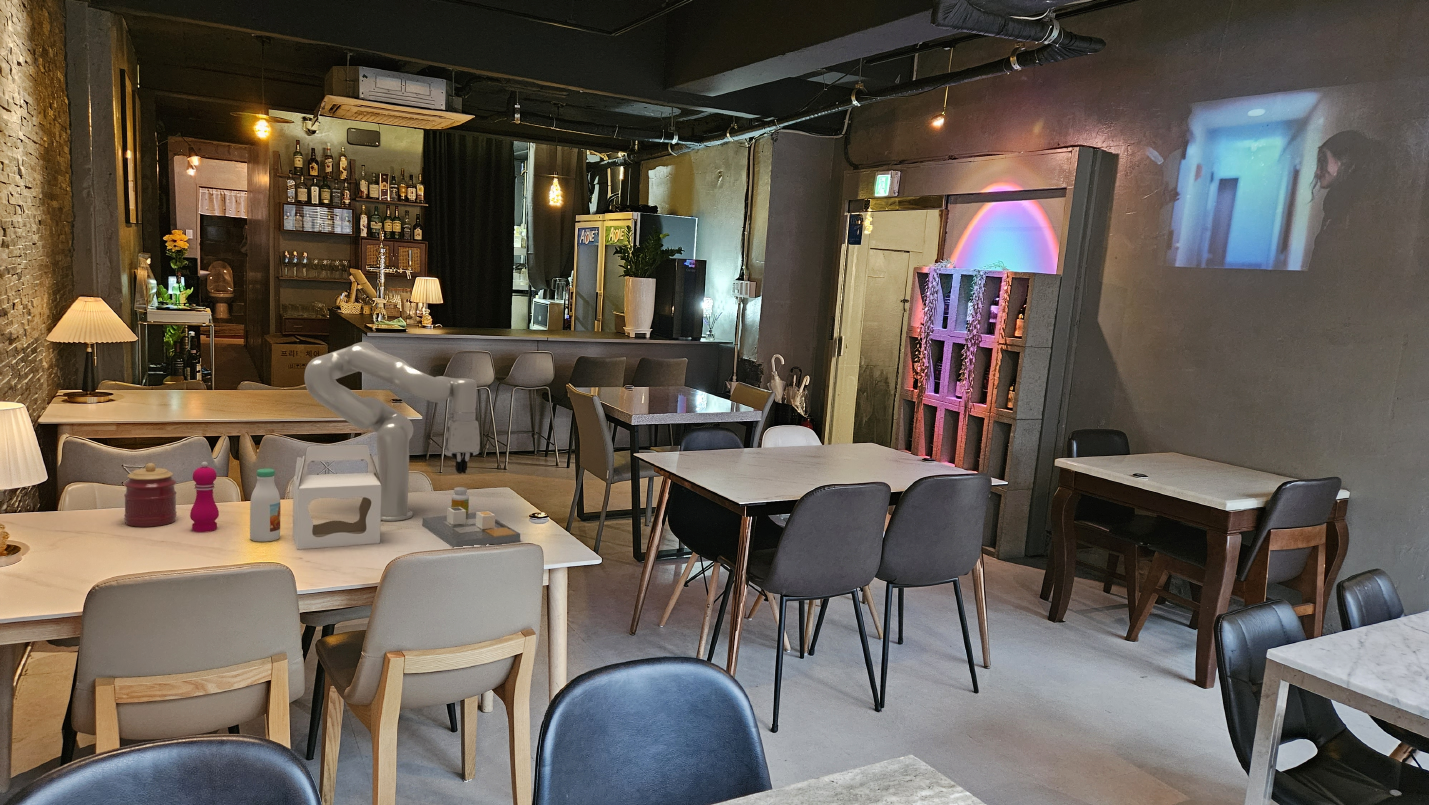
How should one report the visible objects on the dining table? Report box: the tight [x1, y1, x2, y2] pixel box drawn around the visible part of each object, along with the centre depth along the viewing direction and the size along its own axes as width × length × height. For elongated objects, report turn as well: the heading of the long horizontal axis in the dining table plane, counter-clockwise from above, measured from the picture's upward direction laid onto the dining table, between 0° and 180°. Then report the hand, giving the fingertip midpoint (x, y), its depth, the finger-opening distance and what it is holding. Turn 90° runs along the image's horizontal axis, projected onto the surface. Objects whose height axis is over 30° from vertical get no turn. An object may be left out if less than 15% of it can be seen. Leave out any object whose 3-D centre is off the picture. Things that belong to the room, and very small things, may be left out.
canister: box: [123, 462, 177, 528], centre depth 259 cm, size 13×13×18 cm
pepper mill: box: [189, 461, 220, 533], centre depth 255 cm, size 7×7×20 cm
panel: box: [421, 512, 521, 548], centre depth 271 cm, size 20×28×3 cm
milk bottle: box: [249, 468, 281, 543], centre depth 250 cm, size 8×8×20 cm
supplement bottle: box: [450, 486, 470, 514], centre depth 288 cm, size 5×5×10 cm
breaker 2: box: [475, 510, 496, 529], centre depth 269 cm, size 4×5×4 cm
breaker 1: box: [446, 507, 466, 525], centre depth 271 cm, size 4×5×4 cm
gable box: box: [292, 443, 382, 551], centre depth 253 cm, size 22×13×28 cm, turn 120°
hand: (461, 472), depth 286 cm, fingers closed
